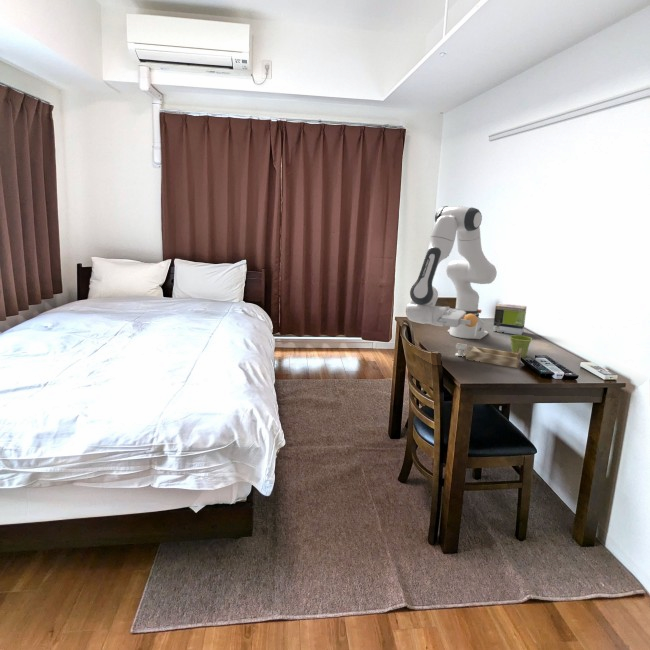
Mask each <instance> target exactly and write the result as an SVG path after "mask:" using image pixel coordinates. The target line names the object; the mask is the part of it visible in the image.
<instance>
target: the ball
mask: <svg viewBox="0 0 650 650" xmlns="http://www.w3.org/2000/svg"><path fill="white" fill-rule="evenodd" d="M464 320H471V324H470V325H469V324H465V325H466V326H468V327H474V326H475V325H476V324H477V322H478V319H477V317H476V315H474V314H467V315H466V316H465V317H464Z"/></svg>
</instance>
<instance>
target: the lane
mask: <svg viewBox="0 0 650 650" xmlns="http://www.w3.org/2000/svg"><path fill="white" fill-rule="evenodd" d="M521 352H522V348H519V352H518V353H513V352H511V351H507V350H506V351H505V350H498V349H493V348H488V347H487V348H485V347H479V346H474V345H469V346H468V348H466V354H465V359H466V360H467V359H470V360H469V361H473V360H475V361H474V362H479V361H480V363H485V362H486V364H492V365H497V366H503V367H509V368H516V369H519V368H520V364H521Z"/></svg>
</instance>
